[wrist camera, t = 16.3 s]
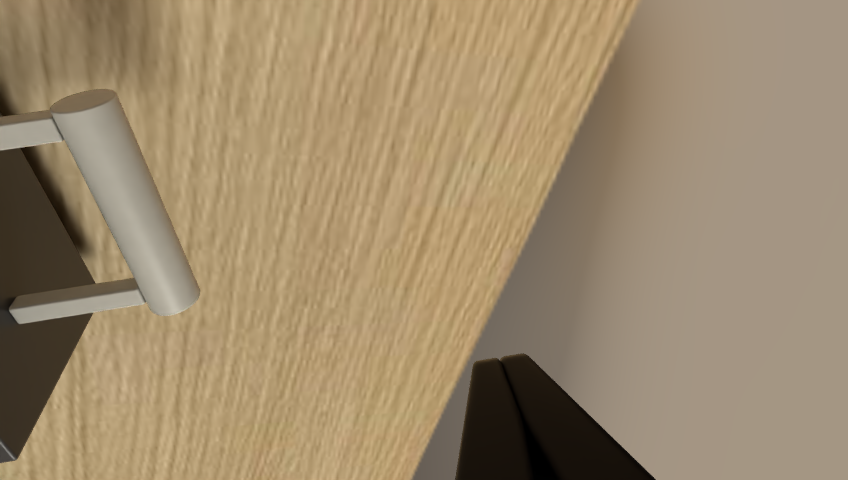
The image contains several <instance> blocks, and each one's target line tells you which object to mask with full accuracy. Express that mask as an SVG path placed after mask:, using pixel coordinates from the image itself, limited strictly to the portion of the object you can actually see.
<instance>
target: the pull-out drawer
mask: <svg viewBox="0 0 848 480" xmlns="http://www.w3.org/2000/svg"><path fill="white" fill-rule="evenodd" d="M64 139H65V141H66V143H67V145H68V147H69V149H70V151H71V153H72V155H73V157H74V159H75V161H76V163H77V165H78V167H79V169H80V171H81V173H82V175H83V177H84V179H85V181H86V183H87V185H88V187H89V189H90V191H91V193H92V195H93V197H94V199H95V201H96V203H97V205H98V207H99V209H100V211H101V213H102V215H103V217H104V219H105V221H106V223H107V225H108V227H109V229H110V231H111V233H112V235H113V237H114V239H115V241H116V243H117V245H118V247H119V249H120V251H121V253H122V254H123V256H124V258H125V260H126V262H127V264H128V266H129V268H130V270H131V272H132V274H133V276H134V278H130V279H124V280H117V281H111V282H105V283H98V284H96V283H95V281H94V280H93V278H92V276H91V274H90V272H89V271H88V269H87V267H86V265H85V263H84V262H83V260H82V258H81V256H80V255H79V253H78V251H77V249H76V247H75V246H74V244H73V242H72V240H71V238H70V237H69V235H68V233H67V231H66V229H65V228H64V226H63V224H62V222H61V220H60V219H59V217H58V215H57V213H56V212H55V210H54V208H53V206H52V204H51V203H50V201H49V199H48V197H47V195H46V194H45V192H44V190H43V188H42V186H41V185H40V183H39V181H38V179H37V178H36V176H35V174H34V172H33V170H32V169H31V167H30V165H29V163H28V161H27V160H26V158H25V156H24V154H23V152H22V151H21V149H20V148H21V147H28V146H35V145H42V144H49V143H55V142H62V141H63V140H64ZM199 296H200V288H199V286H198V284H197V281H196V279H195V277H194V274H193V272H192V270H191V267H190V265H189V263H188V260H187V258H186V256H185V253H184V251H183V249H182V246H181V244H180V241H179V239H178V237H177V234H176V232H175V230H174V227H173V225H172V223H171V220H170V218H169V216H168V213H167V211H166V209H165V206H164V204H163V202H162V199H161V197H160V194H159V192H158V190H157V187H156V185H155V183H154V180H153V178H152V176H151V173H150V171H149V169H148V166H147V164H146V162H145V159H144V157H143V155H142V152H141V150H140V147H139V145H138V143H137V140H136V138H135V136H134V133H133V131H132V129H131V126H130V124H129V122H128V119H127V117H126V115H125V112H124V110H123V108H122V105H121V103H120V101H119V98H118V96H117V94H116V92H115V91H113V90H109V89H96V90H89V91H84V92H80V93H77V94H73V95H70V96H68V97H65V98H63V99H61V100H59V101H57V102H56V103H54V104H53V105H52V106H51V108H50V110H46V111H39V112H32V113H25V114H18V115H11V116H4V117H2V115H1V113H0V463H4V462H10V461H15V460H17V459H18V457H19V455H20V453H21V451H22V449H23V447H24V446H25V444H26V442H27V440H28V438H29V436H30V434H31V432H32V430H33V428H34V426H35V424H36V422H37V420H38V419H39V417H40V415H41V413H42V411H43V409H44V407H45V405H46V403H47V401H48V399H49V397H50V395H51V393H52V391H53V390H54V388H55V386H56V384H57V382H58V380H59V378H60V376H61V374H62V372H63V370H64V368H65V366H66V364H67V363H68V361H69V359H70V357H71V355H72V353H73V351H74V349H75V347H76V345H77V343H78V341H79V339H80V337H81V336H82V334H83V332H84V330H85V328H86V326H87V324H88V322H89V320H90V318H91V316H92V314H93V312H99V311H105V310H112V309H118V308H124V307H131V306H137V305H143V304H145V302H147V304H148V306H149V308H150V310H151V311H152V312H153V313H154V314H157V315H160V316H168V315H174V314H177V313H180V312H182V311H184V310H186V309H188V308H189V307H191V306H192V305H193V304H194V303H195V302H196V301H197V300H198V298H199Z"/></svg>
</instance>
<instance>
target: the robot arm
mask: <svg viewBox="0 0 848 480" xmlns="http://www.w3.org/2000/svg"><path fill="white" fill-rule="evenodd" d="M455 480H656V479H654V477H653V476H652V475H650V474H649V473H648V472H647V471H646V470H645V469H644V468H643V467H642V466H641V465H640V464H639V463H638V462H637V461H636V460H635V459H634V458H633V457H632V456H631V455H630V454H629V453H628V452H627V451H626V450H625V449H624V448H623V447H622V446H621V445H620V444H618V443H617V442H616V441H615V440H614V439H613V438H612V437H611V436H610V435H609V434H608V433H607V432H606V431H605V430H604V429H603V428H602V427H601V426H600V425H599V424H598V423H597V422H596V421H595V420H594V419H593V418H592V417H591V416H590V415H589V414H587V412H586V411H585V410H584V409H582V408H581V407H580V406H579V405H578V404H577V403H576V402H575V401H574V400H573V399H572V398H571V397H570V396H569V395H568V394H567V393H566V392H565V391H564V390H563V389H562V388H561V387H560V386H559V385H558V384H557V383H556V382H555V381H554V380H552V379H551V378H550V376H548V375H547V374H546V373H545V372H544V371H543V370H542V369H541V368H540V367H539V366H538V365H537V364H536V363H535V362H534V361H533V360H532V359H531V358H530V357H529V356H527V355H526V354H516V355H510V356H504V357H502V358H501V359H500V360H499V359H497V358H492V359H486V360H480V361H476V362H475V363H474V364H473V369H472V375H471V381H470V388H469V394H468V401H467V407H466V414H465V421H464V427H463V433H462V439H461V446H460V452H459V459H458V465H457V472H456V478H455Z"/></svg>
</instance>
